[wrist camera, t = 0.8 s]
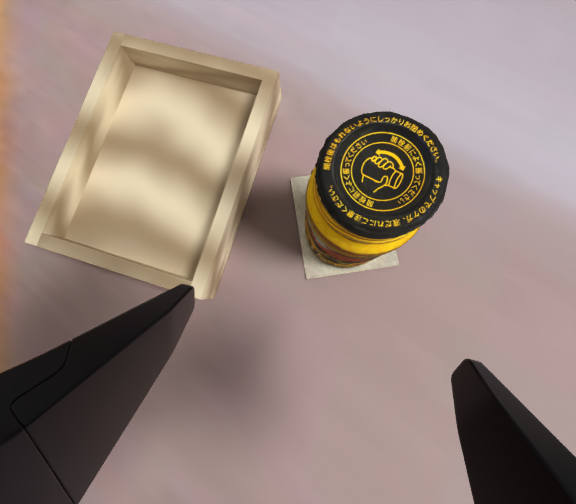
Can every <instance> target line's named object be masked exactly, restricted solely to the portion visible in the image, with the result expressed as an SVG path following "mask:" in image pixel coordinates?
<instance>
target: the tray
mask: <svg viewBox="0 0 576 504" xmlns="http://www.w3.org/2000/svg"><path fill="white" fill-rule="evenodd" d="M281 99H282V96H281V87H280V78H279V71H275V70H270V69H266V68H262V67H258V66H254V65H250V64H246V63H242V62H237V61H233V60H229V59H225V58H221V57H217V56H213V55H208V54H204V53H200V52H196V51H192V50H188V49H184V48H180V47H175V46H171V45H167V44H163V43H159V42H155V41H151V40H147V39H142V38H138V37H134V36H130V35H126V34H122V33H118V32H114V33H113V35H112V37H111V40H110V42H109V44H108V47H107V49H106V51H105V54H104V56H103V59H102V61H101V63H100V66H99V68H98V70H97V73H96V75H95V77H94V80H93V82H92V84H91V87H90V89H89V91H88V94H87V96H86V99H85V101H84V103H83V106H82V108H81V110H80V113H79V115H78V117H77V120H76V122H75V124H74V127H73V129H72V131H71V134H70V136H69V139H68V141H67V143H66V146H65V148H64V150H63V153H62V155H61V157H60V160H59V162H58V164H57V167H56V169H55V171H54V174H53V176H52V179H51V181H50V183H49V186H48V188H47V190H46V193H45V195H44V197H43V200H42V202H41V204H40V207H39V209H38V211H37V214H36V216H35V219H34V221H33V223H32V226H31V228H30V230H29V233H28V235H27V237H26V240H25V242H26V243H29V244H32V245H35V246H38V247H41V248H44V249H47V250H50V251H53V252H56V253H59V254H62V255H65V256H68V257H71V258H74V259H78V260H81V261H84V262H87V263H90V264H93V265H96V266H99V267H102V268H105V269H108V270H111V271H114V272H117V273H120V274H123V275H127V276H130V277H133V278H136V279H139V280H142V281H145V282H148V283H151V284H154V285H157V286H160V287H163V288H166V289H169V290H170V289H172V288H174V287H176V286H178V285H180V284H187V285H191V286H193V287H194V289H195V298H197V299H200V300H203V299H214V297H215V295H216V292H217V289H218V286H219V283H220V280H221V277H222V274H223V271H224V268H225V265H226V262H227V259H228V256H229V253H230V250H231V247H232V244H233V241H234V238H235V235H236V232H237V229H238V226H239V223H240V220H241V217H242V214H243V211H244V208H245V206H246V203H247V200H248V197H249V194H250V191H251V188H252V185H253V182H254V179H255V176H256V173H257V170H258V167H259V164H260V161H261V158H262V155H263V152H264V149H265V146H266V143H267V140H268V137H269V134H270V131H271V128H272V125H273V122H274V119H275V117H276V114H277V111H278V108H279V105H280V102H281Z"/></svg>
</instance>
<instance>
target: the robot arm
mask: <svg viewBox="0 0 576 504" xmlns="http://www.w3.org/2000/svg"><path fill="white" fill-rule="evenodd" d="M194 304H195V289H194V287H193V286H191V285H187V284H180V285H178V286H176V287H174V288H172V289H170V290H168V291H166V292H164V293H162V294H160V295H158V296H156V297H154V298H152V299H150V300H148V301H146V302H144V303H142V304H140V305H138V306H136V307H134V308H132V309H131V310H129V311H127V312H125V313H123V314H121V315H119V316H117V317H115V318H113V319H111V320H109V321H107V322H105V323H103V324H101V325H99V326H97V327H95V328H93V329H91V330H89V331H87V332H85V333H83V334H82V335H80V336H78V337H76V338H74V339H72V341H68V342H66V343H64V344H62V345H60V346H58V347H56V348H54V349H52V350H50V351H48V352H46V353H44V354H42V355H40V356H37V357H35V358H33V359H31V360H29V361H27V362H25V363H22V364H20V365H18V366H16V367H13V368H11V369H9V370H7V371H5V372H2V373H0V504H78V503H79V502H80V500H81V499H82V497H83V495H84V494H85V492H86V491H87V489H88V487H89V486H90V484H91V483H92V481H93V479H94V478H95V476H96V475H97V473H98V471H99V470H100V468H101V467H102V465H103V463H104V462H105V460H106V459H107V457H108V455H109V454H110V452H111V451H112V449H113V447H114V446H115V444H116V443H117V441H118V439H119V438H120V436H121V435H122V433H123V431H124V430H125V428H126V427H127V425H128V423H129V422H130V420H131V419H132V417H133V415H134V414H135V412H136V411H137V409H138V407H139V406H140V404H141V402H142V401H143V399H144V398H145V396H146V394H147V393H148V391H149V390H150V388H151V386H152V385H153V383H154V382H155V380H156V378H157V377H158V375H159V374H160V372H161V370H162V369H163V367H164V366H165V364H166V362H167V361H168V359H169V358H170V356H171V354H172V353H173V351H174V349H175V347H176V345H177V343H178V341H179V339H180V337H181V334H182V332H183V330H184V328H185V326H186V324H187V322H188V320H189V318H190V316H191V314H192V311H193V309H194ZM451 383H452V391H453V399H454V407H455V415H456V423H457V429H458V434H459V439H460V443H461V448H462V452H463V456H464V461H465V465H466V469H467V474H468V478H469V482H470V487H471V491H472V496H473V500H474V504H576V457H575V456H574V455H573V454H572V453H571V452H570V451H569V450H568V449H567V448H566V447H565V446H564V445H563V444H562V443H561V442H560V441H559V440H558V439H557V438H556V437H555V436H554V435H553V434H552V433H551V432H550V431H549V430H548V429H547V428H546V427H545V426H544V425H543V424H542V423H541V422H540V421H539V420H538V419H537V418H536V417H535V416H534V415H533V414H532V413H531V412H530V411H529V410H528V409H527V408H526V407H525V406H524V405H523V404H522V403H521V402H520V401H519V400H518V399H517V398H516V397H515V396H514V395H513V394H512V393H511V392H510V391H509V390H508V389H507V388H506V387H505V386H504V385H503V384H502V383H501V382H500V381H499V380H498V379H497V378H496V377H495V376H494V375H493V374H492V373H491V372H490V371H489V370H488V369H487V368H486V367H485V366H484V365H483V364H482V363H481V362H479V361H475V360H471V359H465V360H463V361H462V363H461V364H460V365H459V366H458V367H457V369H456V370H455V371H454V372H453V374H452V377H451Z"/></svg>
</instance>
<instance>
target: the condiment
mask: <svg viewBox="0 0 576 504" xmlns="http://www.w3.org/2000/svg"><path fill="white" fill-rule="evenodd" d="M448 178H449V165H448V162H447V159H446V155H445V152H444V148H443V146H442V144H441V143H440V141H439V139H438V138H437V136H436V135H435V134H434V133H433V132H432V131H431V130H430V129H429V128H428V127H426V126H424V125H423V124H421V123H419V122H417V121H415V120H413V119H411V118H409V117H406V116H402V115H400V114H397V113H393V112H374V113H367V114H362V115H359V116H356V117H354V118H352V119H349V120H348V121H346V122H344V123H343V124H341V125H340V126H339V127H338V129H336V130H335V131H334V132H333V133H332V134H331V135H330V136H329V137H328V138H327V139H326V141H325V144H324V146H323V148H322V149H321V150H320V152H319V157H318V159H317V163H316V164H315V168H314V169H313V170H312V172H311V175H308V176H300V177H294V178H290V180H291V186H292V192H293V199H294V205H295V211H296V217H297V224H298V230H299V236H300V243H301V249H302V255H303V261H304V268H305V274H306V279H312V278H319V277H325V276H332V275H338V274H345V273H351V272H358V271H364V270H371V269H377V268H383V267H390V266H396V265H399V262H398V257H397V253H396V249H397V248H400V247H401V246H402V245H403V244H405V243H406V242H407V241H408V240H410V239H411V238H412V237H413V236H414V235H415V233H416V232H417V231H418V230H419V228H420V226H421V225H423V224H424V223H425V222H426V221H427V220H428V219H430V218H431V217H432V216H433V215H434V213H435V212H436V211H437V210H438V208H439V206H440V204H441V203H442V202H443V199H444V196H445V192H446V187H447V183H448Z"/></svg>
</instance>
